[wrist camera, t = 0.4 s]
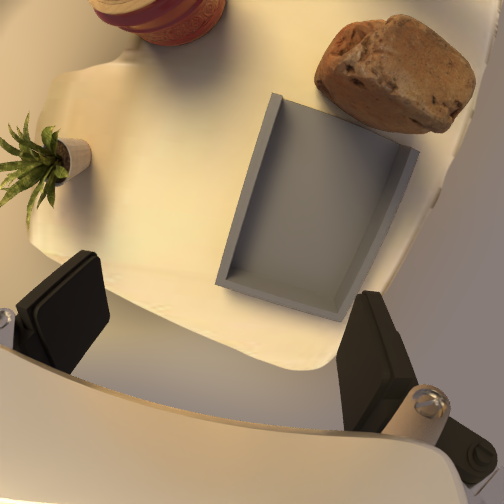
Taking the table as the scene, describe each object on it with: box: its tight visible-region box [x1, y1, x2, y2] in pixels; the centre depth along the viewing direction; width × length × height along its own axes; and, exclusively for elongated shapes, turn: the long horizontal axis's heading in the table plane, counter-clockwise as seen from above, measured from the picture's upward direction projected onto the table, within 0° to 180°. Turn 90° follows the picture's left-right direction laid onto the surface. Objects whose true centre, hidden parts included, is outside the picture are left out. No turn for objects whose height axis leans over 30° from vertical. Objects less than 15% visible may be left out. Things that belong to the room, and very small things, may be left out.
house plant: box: [0, 113, 91, 230], centre depth 31 cm, size 14×14×16 cm
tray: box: [215, 93, 420, 322], centre depth 37 cm, size 25×18×4 cm
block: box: [314, 14, 476, 134], centre depth 23 cm, size 11×8×20 cm
